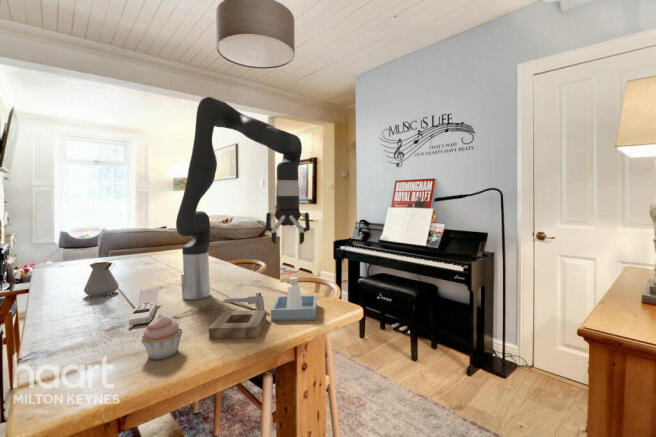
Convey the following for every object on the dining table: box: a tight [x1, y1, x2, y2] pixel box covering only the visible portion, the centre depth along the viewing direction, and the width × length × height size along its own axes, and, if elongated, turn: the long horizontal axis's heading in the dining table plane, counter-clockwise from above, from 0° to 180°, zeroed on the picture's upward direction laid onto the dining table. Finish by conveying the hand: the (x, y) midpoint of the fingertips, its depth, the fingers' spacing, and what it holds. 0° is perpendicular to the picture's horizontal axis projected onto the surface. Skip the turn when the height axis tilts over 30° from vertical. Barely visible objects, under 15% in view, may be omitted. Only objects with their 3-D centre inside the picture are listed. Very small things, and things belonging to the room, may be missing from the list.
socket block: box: [208, 309, 267, 340], centre depth 91 cm, size 13×13×3 cm
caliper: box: [223, 292, 265, 310], centre depth 111 cm, size 20×1×6 cm, turn 56°
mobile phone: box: [128, 287, 160, 329], centre depth 104 cm, size 6×6×25 cm
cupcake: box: [140, 313, 184, 361], centre depth 76 cm, size 9×9×10 cm
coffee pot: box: [83, 261, 120, 298], centre depth 123 cm, size 21×12×15 cm, turn 48°
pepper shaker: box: [286, 276, 303, 309], centre depth 103 cm, size 5×5×11 cm
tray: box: [270, 294, 317, 322], centre depth 103 cm, size 14×14×4 cm
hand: (288, 243), depth 104 cm, fingers open, 8 cm apart
